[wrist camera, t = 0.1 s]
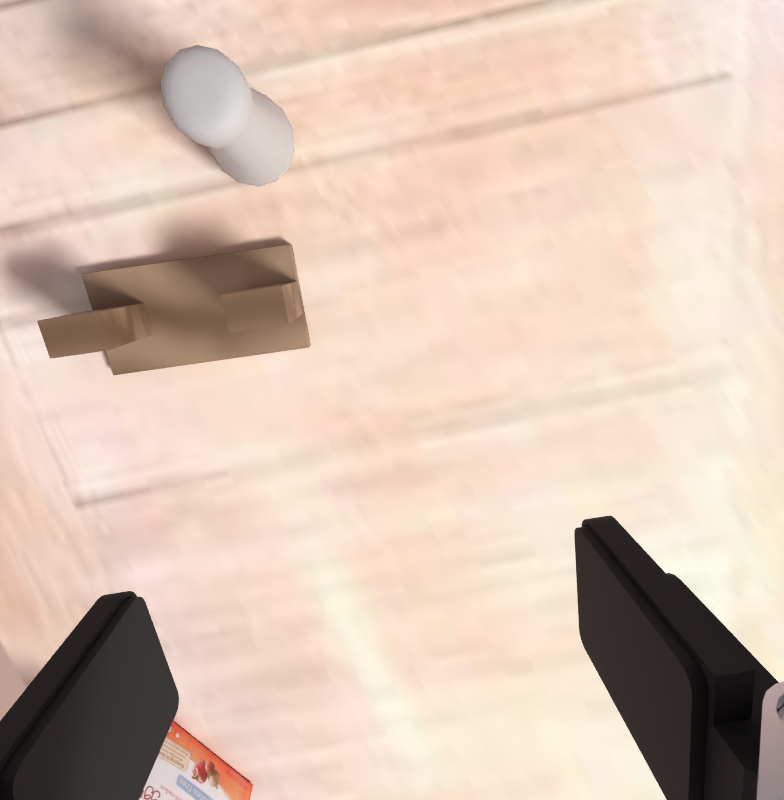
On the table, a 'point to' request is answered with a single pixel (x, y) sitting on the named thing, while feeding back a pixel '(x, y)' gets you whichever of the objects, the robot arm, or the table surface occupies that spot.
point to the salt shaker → (227, 115)
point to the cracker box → (192, 773)
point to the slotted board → (187, 312)
